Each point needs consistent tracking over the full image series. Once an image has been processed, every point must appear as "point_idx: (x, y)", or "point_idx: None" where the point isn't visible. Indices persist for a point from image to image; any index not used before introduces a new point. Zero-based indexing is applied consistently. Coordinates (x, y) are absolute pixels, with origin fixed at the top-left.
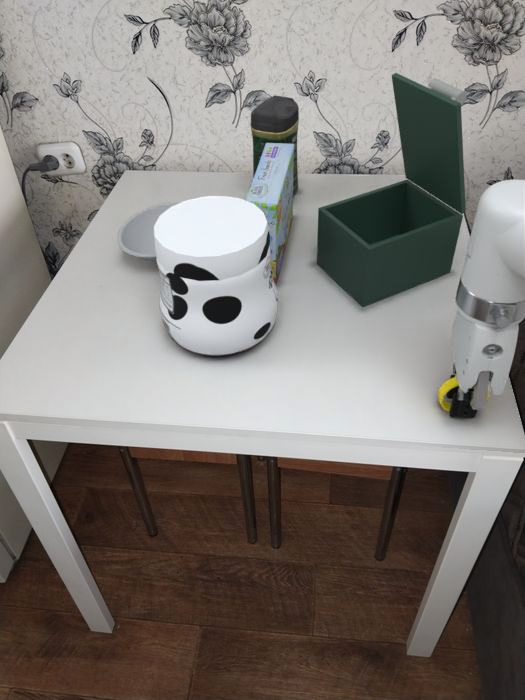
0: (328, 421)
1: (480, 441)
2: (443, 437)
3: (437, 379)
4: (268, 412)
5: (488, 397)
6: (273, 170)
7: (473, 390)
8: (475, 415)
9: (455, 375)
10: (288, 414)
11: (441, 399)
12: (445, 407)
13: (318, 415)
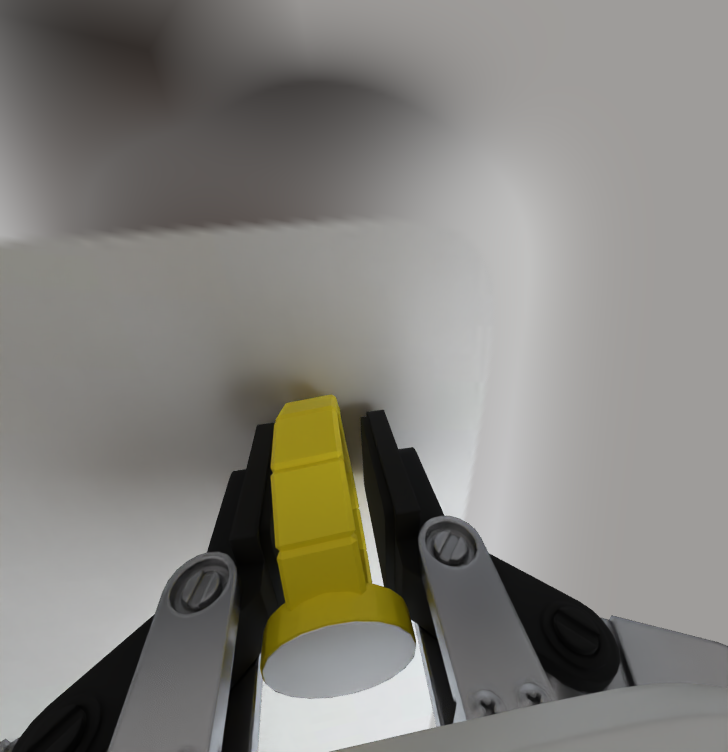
0: (410, 668)
1: (477, 379)
2: (457, 481)
3: (184, 514)
4: (394, 727)
5: (331, 414)
6: None
7: (270, 459)
8: (384, 415)
9: (328, 695)
10: (397, 710)
11: (369, 570)
12: (357, 510)
13: (395, 682)
